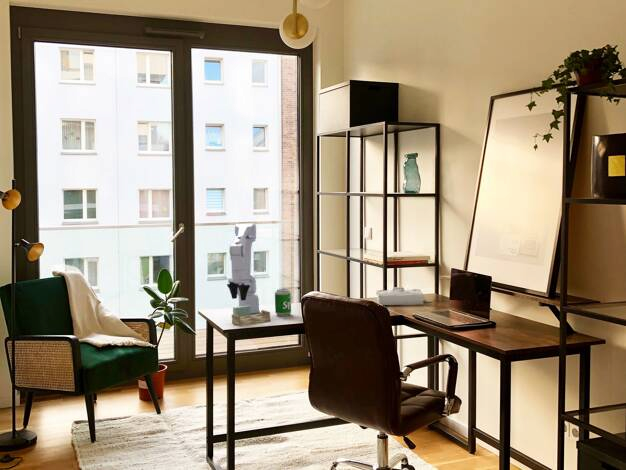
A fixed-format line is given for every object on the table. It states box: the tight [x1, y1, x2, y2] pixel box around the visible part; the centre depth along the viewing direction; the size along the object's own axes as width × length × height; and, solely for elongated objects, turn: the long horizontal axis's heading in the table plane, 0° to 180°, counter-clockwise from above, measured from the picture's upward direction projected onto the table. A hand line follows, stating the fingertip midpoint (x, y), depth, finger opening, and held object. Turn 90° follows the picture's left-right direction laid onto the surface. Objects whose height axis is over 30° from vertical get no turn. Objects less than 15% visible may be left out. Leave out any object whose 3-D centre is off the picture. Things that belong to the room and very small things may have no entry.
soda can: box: [274, 288, 292, 317], centre depth 338 cm, size 8×8×12 cm
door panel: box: [232, 305, 252, 317], centre depth 331 cm, size 8×3×6 cm, turn 123°
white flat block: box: [375, 286, 433, 306], centre depth 362 cm, size 19×28×8 cm
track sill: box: [231, 309, 271, 327], centre depth 324 cm, size 16×6×4 cm, turn 123°
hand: (238, 299), depth 328 cm, fingers open, 7 cm apart
